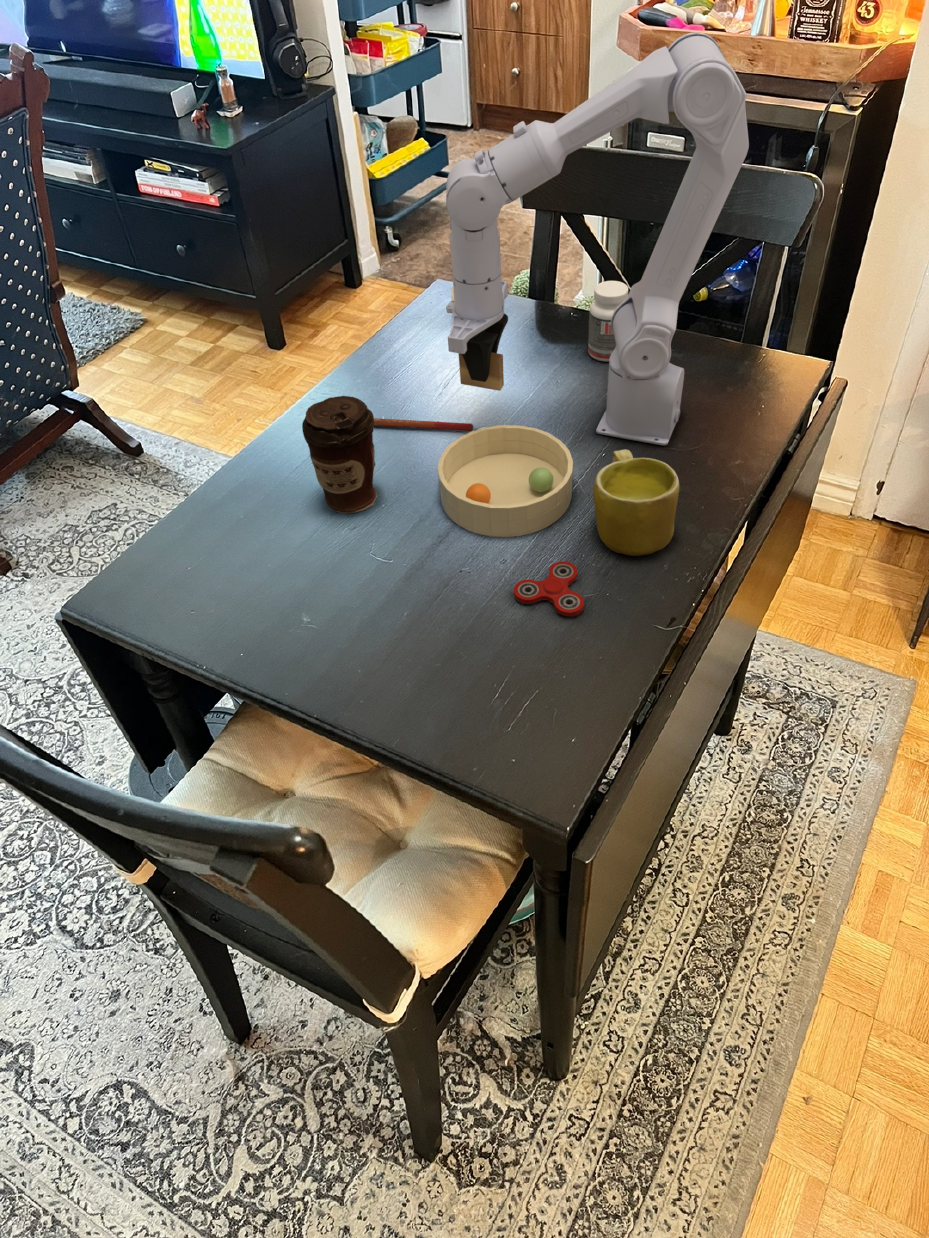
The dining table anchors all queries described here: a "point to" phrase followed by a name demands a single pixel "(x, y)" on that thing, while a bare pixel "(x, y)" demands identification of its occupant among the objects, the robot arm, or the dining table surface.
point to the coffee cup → (342, 451)
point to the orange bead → (478, 493)
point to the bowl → (505, 480)
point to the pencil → (423, 424)
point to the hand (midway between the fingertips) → (482, 375)
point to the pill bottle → (604, 318)
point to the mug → (635, 504)
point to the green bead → (540, 479)
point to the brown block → (494, 378)
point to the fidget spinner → (553, 589)
